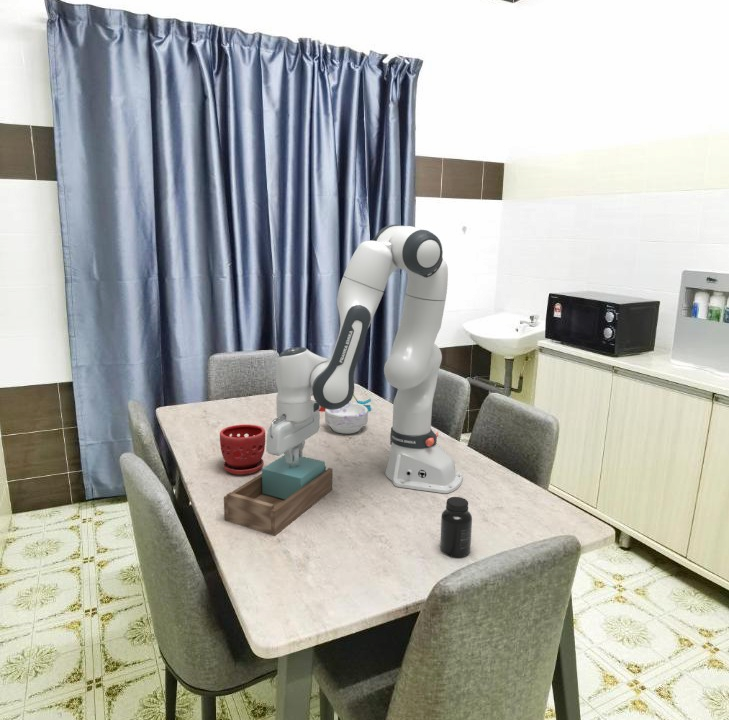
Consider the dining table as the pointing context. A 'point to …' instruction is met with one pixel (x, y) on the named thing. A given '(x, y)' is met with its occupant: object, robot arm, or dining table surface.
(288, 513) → the bay
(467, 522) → the supplement bottle
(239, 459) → the plant pot
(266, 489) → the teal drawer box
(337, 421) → the paper bowls
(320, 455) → the dining table surface
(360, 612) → the dining table surface
